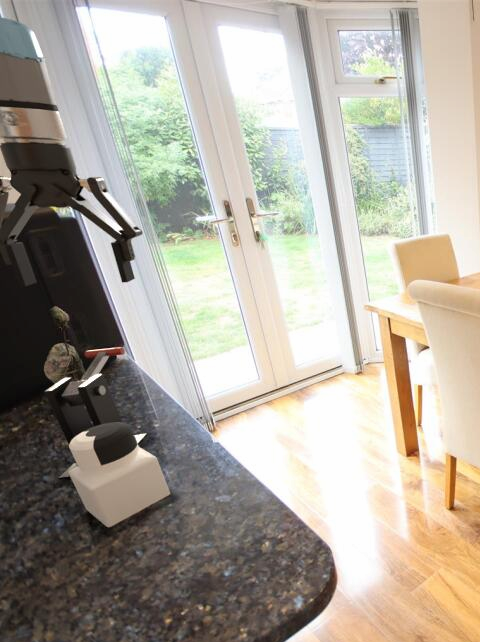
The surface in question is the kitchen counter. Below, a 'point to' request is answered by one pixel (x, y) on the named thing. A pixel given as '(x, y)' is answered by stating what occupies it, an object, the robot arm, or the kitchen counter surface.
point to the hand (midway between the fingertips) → (79, 282)
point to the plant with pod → (63, 355)
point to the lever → (89, 373)
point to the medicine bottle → (115, 473)
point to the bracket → (77, 417)
